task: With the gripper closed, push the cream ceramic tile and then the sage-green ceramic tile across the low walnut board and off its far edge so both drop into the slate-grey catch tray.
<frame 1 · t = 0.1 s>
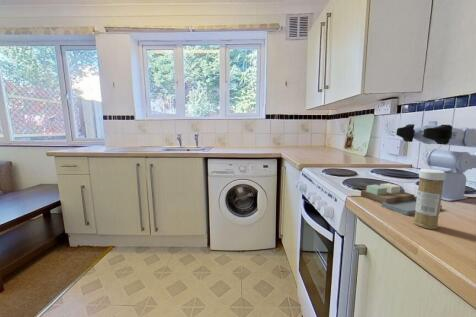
hand: (410, 132, 66), 22 cm above the countertop, tool horizontal, fingers open, 7 cm apart
walnut board: (386, 198, 73), on the countertop
green tile: (376, 192, 73), point 2 cm above the countertop, touching walnut board
catch tray: (411, 207, 65), on the countertop
cream tile: (389, 190, 75), point 2 cm above the countertop, touching walnut board
sprinkles bottle: (424, 226, 54), on the countertop
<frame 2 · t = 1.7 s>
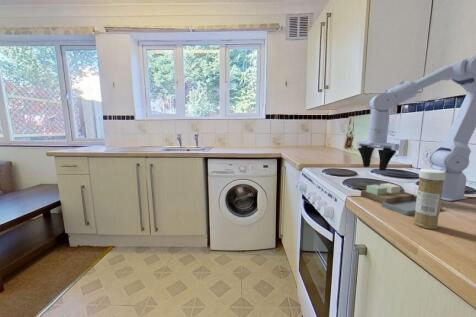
hand: (374, 168, 80), 8 cm above the countertop, tool pointing down, fingers open, 6 cm apart
nothing on the countertop moved.
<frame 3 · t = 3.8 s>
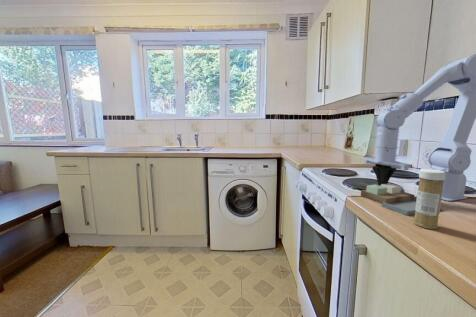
hand: (382, 187, 77), 3 cm above the countertop, tool pointing down, fingers closed
cream tile: (390, 191, 75), point 2 cm above the countertop, touching gripper, walnut board
everything else where it was.
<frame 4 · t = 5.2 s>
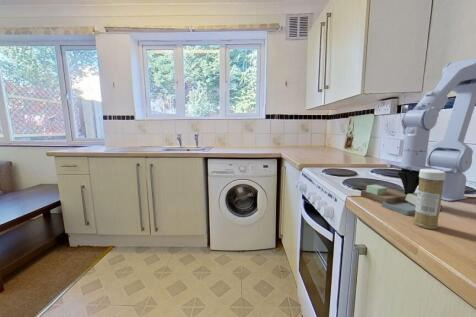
hand: (409, 194, 69), 3 cm above the countertop, tool pointing down, fingers closed
cream tile: (416, 202, 67), point 1 cm above the countertop, tilted 13°, touching gripper
everything else where it was.
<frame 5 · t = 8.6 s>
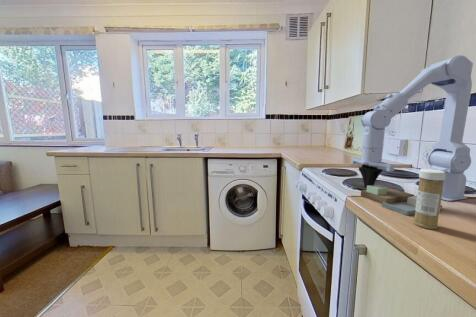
hand: (368, 188, 76), 3 cm above the countertop, tool pointing down, fingers closed
green tile: (376, 192, 73), point 2 cm above the countertop, touching gripper
cream tile: (418, 205, 66), resting on catch tray
everything else where it was.
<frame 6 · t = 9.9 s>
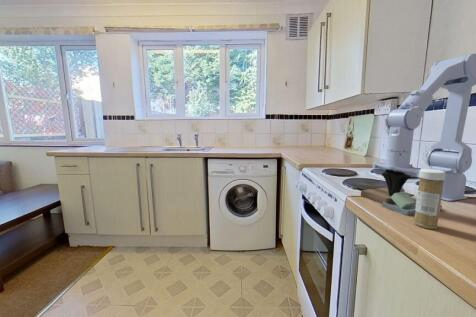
hand: (393, 196, 67), 3 cm above the countertop, tool pointing down, fingers closed
green tile: (400, 202, 65), point 1 cm above the countertop, tilted 33°, touching gripper
everything else where it was.
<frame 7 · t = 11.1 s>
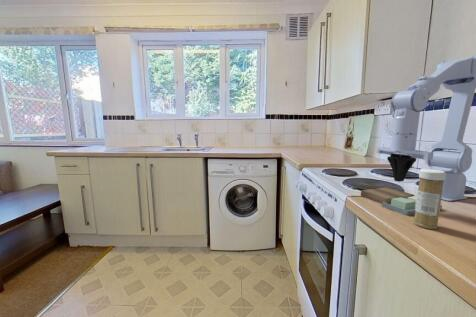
hand: (398, 180, 66), 8 cm above the countertop, tool pointing down, fingers closed
green tile: (402, 206, 65), resting on catch tray
everything else where it was.
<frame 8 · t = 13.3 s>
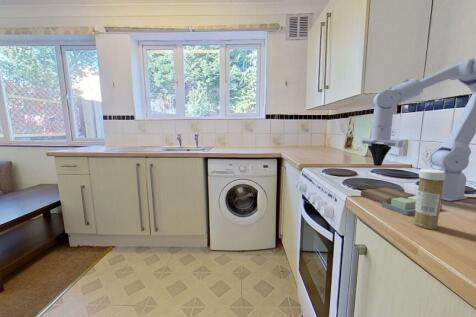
hand: (377, 165, 80), 9 cm above the countertop, tool pointing down, fingers closed
nothing on the countertop moved.
at the end: cream tile inside the target area (3.5 cm from its centre), resting on catch tray; green tile inside the target area (2.9 cm from its centre), resting on catch tray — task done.
